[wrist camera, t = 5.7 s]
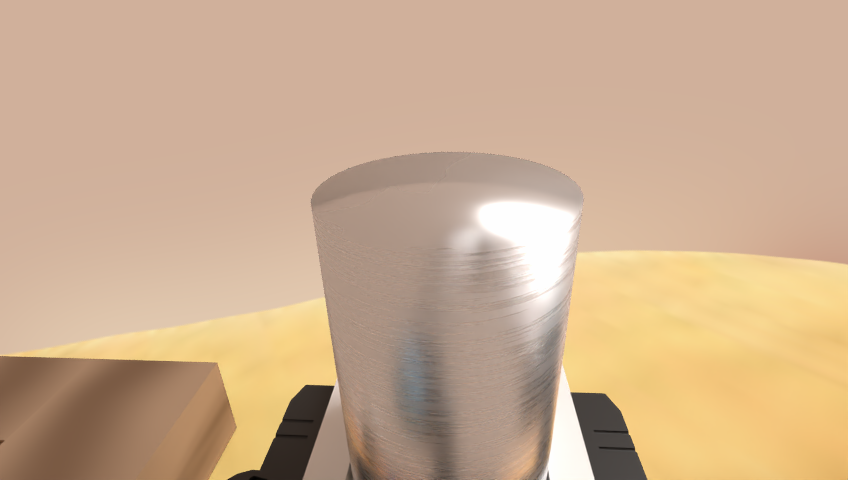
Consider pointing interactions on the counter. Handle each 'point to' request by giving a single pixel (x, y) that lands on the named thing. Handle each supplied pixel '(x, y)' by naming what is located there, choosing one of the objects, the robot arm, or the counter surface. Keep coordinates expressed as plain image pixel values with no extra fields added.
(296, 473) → the robot arm
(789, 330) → the counter surface
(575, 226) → the metal pin
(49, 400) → the socket block
